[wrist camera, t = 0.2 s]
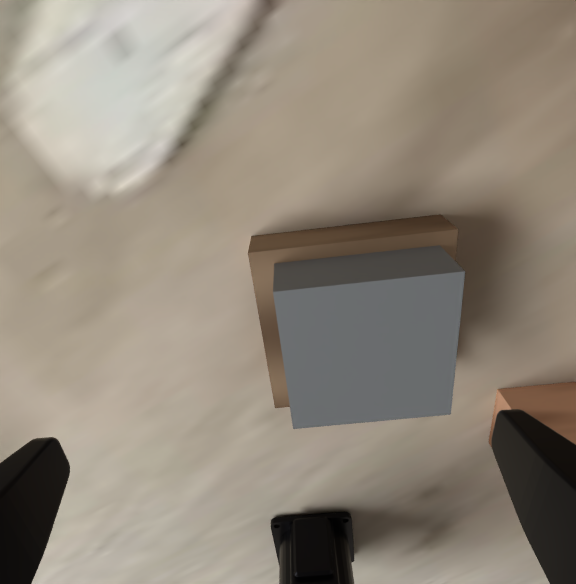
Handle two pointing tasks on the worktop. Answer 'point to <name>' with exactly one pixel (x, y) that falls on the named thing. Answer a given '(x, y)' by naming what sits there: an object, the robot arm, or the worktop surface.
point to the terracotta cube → (542, 406)
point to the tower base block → (323, 246)
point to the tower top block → (369, 335)
